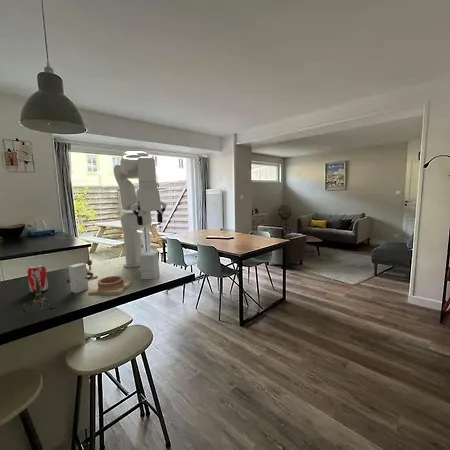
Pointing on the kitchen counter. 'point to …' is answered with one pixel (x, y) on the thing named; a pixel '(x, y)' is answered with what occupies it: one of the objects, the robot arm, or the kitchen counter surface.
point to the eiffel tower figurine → (38, 296)
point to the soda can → (37, 272)
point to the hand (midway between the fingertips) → (150, 223)
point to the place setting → (87, 271)
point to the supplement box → (149, 265)
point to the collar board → (112, 292)
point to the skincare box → (78, 277)
